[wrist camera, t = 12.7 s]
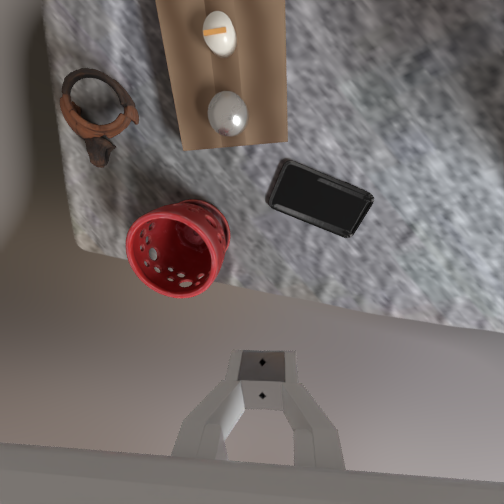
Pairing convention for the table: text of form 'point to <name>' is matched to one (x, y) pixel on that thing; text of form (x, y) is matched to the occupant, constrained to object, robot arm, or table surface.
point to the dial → (219, 34)
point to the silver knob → (228, 114)
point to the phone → (320, 199)
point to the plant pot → (179, 247)
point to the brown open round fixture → (93, 132)
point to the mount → (227, 69)
